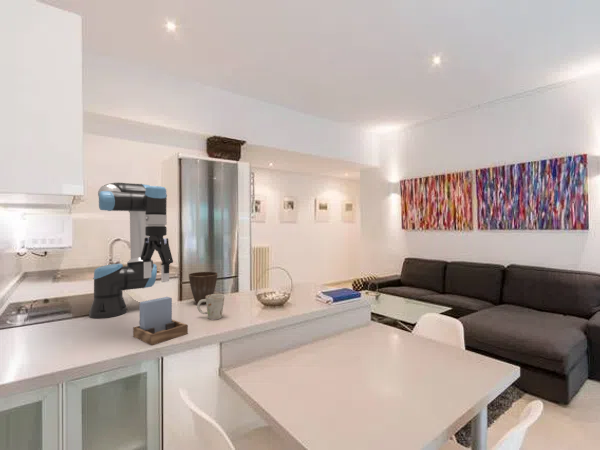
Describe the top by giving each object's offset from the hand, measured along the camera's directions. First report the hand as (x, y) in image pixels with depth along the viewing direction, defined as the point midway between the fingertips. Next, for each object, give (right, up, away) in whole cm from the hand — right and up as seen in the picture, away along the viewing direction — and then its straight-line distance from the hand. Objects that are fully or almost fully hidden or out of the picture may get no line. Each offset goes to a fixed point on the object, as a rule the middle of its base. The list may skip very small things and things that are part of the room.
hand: (156, 279), depth 118 cm
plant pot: (+4, -21, +45) cm, 50 cm away
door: (0, -20, -1) cm, 20 cm away
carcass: (+3, -21, -3) cm, 21 cm away
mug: (+16, -21, +19) cm, 33 cm away
